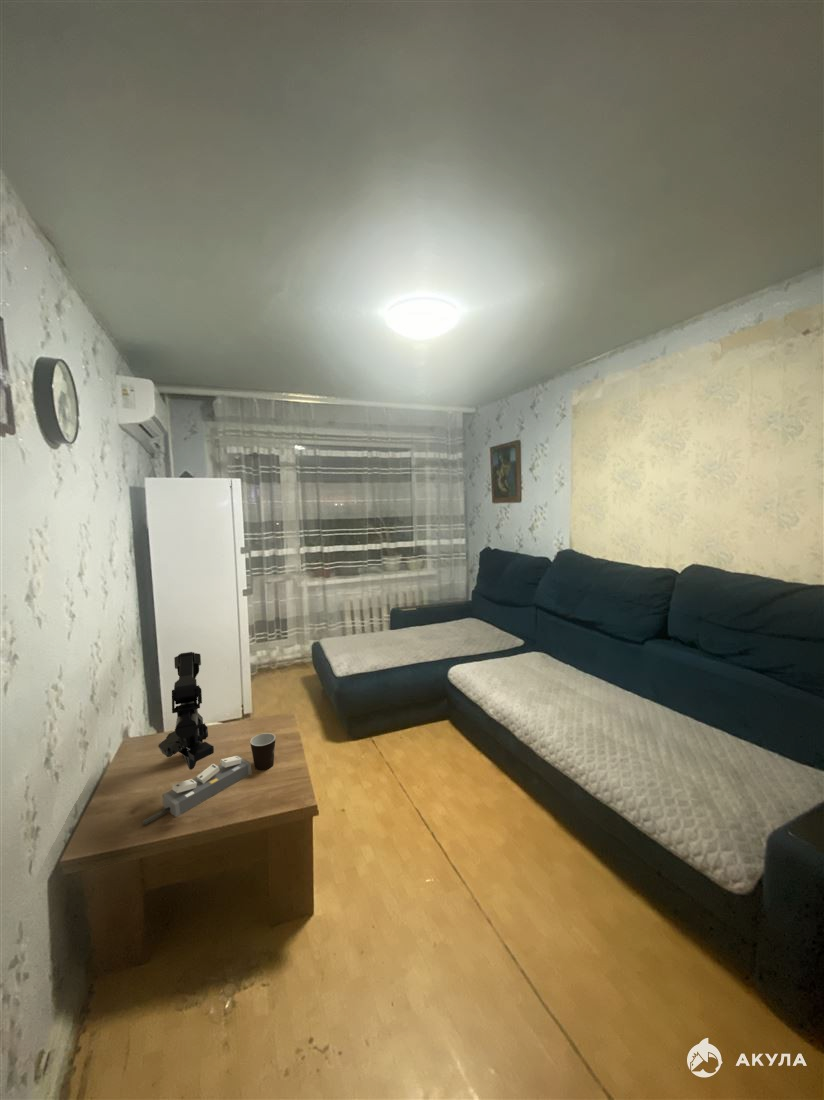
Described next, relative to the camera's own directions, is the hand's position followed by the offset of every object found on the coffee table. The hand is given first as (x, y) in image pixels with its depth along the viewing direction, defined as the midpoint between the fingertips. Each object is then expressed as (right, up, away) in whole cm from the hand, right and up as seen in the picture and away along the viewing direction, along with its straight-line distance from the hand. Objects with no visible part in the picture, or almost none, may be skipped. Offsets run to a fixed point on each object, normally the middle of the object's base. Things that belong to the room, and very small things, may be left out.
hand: (191, 768), depth 141 cm
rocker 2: (+3, -4, +5) cm, 7 cm away
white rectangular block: (-1, -5, -2) cm, 5 cm away
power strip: (+1, -10, +2) cm, 10 cm away
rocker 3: (+8, -3, +11) cm, 14 cm away
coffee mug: (+17, -8, +20) cm, 28 cm away
